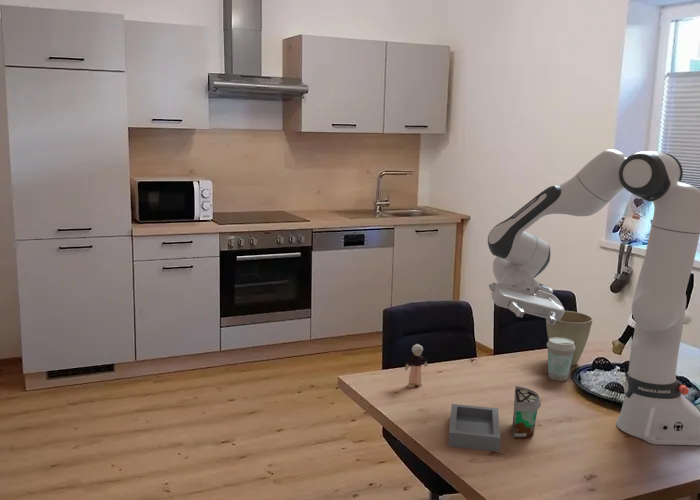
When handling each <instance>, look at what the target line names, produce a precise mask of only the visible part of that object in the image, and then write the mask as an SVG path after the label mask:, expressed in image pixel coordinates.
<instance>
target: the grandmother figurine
mask: <svg viewBox="0 0 700 500" xmlns="http://www.w3.org/2000/svg"><path fill="white" fill-rule="evenodd" d="M423 351H424V348H423V346H422V345H420V344H419V343H416V344H414V345H413V346H412V347H411V352H412V354H413V355H411V357H410V358H409V359H408V361H407V362H406V364H405V367H404V370H405V371H408V370H409V367H410V371H409V375H408V384H407V386H408V388H416V387H422V386H423V383H422V364H423V366H424V367H428V362H427V359H426V357H424V356H423V355H422V353H423Z"/></svg>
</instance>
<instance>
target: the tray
mask: <svg viewBox="0 0 700 500" xmlns="http://www.w3.org/2000/svg"><path fill="white" fill-rule="evenodd" d="M450 409H451V410H450V419H449V431H448V447H454V448H463V449H472V450H483V451H488V452H489V451H490V452H491V451H492V452H500V447H501V429H500V418H499V408H496V407H486V406H478V405H468V404H467V405H465V404H460V403H459V404H458V403H457V404H456V403H451V408H450Z"/></svg>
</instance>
